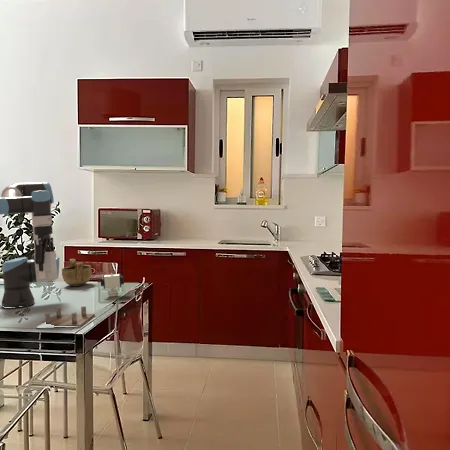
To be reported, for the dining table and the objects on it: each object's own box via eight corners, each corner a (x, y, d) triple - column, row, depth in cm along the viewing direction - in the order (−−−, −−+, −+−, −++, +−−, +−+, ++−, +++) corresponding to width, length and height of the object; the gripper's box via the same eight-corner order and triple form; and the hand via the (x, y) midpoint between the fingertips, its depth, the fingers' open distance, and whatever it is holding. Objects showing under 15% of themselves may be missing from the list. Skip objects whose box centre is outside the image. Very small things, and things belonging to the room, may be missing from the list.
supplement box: (58, 278, 216) (56, 251, 216) (52, 281, 209) (50, 252, 208) (41, 279, 216) (39, 251, 215) (35, 282, 209) (33, 253, 208)
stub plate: (36, 329, 192) (35, 316, 192) (54, 317, 210) (53, 306, 210) (80, 327, 191) (79, 315, 191) (94, 315, 209) (94, 304, 208)
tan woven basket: (59, 284, 292) (57, 260, 291) (87, 280, 301) (86, 257, 300) (66, 290, 273) (64, 264, 272) (96, 286, 281) (94, 260, 280)
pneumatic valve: (124, 295, 249) (123, 272, 248) (101, 298, 246) (99, 274, 245) (124, 293, 254) (123, 271, 253) (101, 295, 251) (100, 273, 250)
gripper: (40, 226, 201) (45, 280, 202) (60, 223, 221) (64, 272, 222) (23, 227, 201) (27, 281, 202) (45, 224, 222) (48, 273, 223)
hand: (46, 276), depth 212 cm, fingers closed on supplement box, 8 cm apart
